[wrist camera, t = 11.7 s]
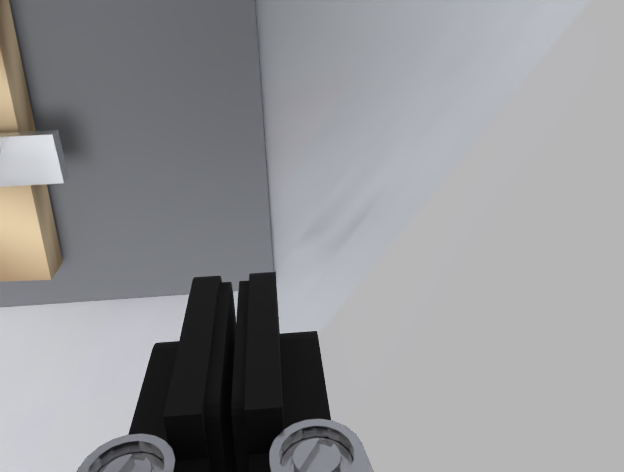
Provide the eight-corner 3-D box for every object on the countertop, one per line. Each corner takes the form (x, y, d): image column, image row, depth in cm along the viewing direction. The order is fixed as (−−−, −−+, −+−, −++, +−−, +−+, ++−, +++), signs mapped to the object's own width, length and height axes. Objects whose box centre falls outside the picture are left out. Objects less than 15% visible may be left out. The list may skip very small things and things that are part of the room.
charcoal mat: (-158, -71, 26) (-170, -72, 25) (249, -82, 27) (248, -84, 26) (-30, 302, 34) (-36, 309, 34) (274, 281, 35) (274, 288, 35)
